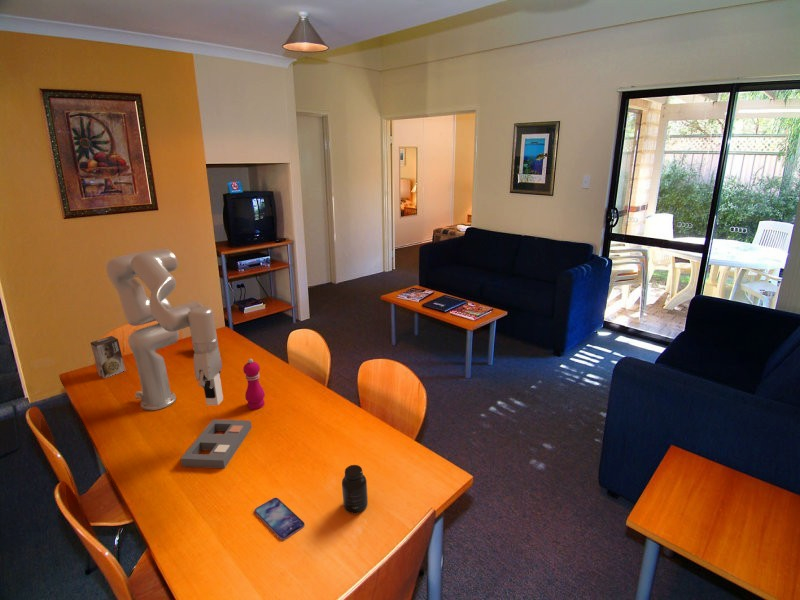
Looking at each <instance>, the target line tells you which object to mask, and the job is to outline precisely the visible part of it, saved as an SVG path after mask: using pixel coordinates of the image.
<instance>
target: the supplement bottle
mask: <svg viewBox="0 0 800 600" xmlns="http://www.w3.org/2000/svg"><path fill="white" fill-rule="evenodd" d="M341 488H342V489H341V490H342V503H343V508H344V510H345V511H346V512H348V513H350V514H359V513H360V514H361V513H362V512H364V511H365V510H366V509H367V507H368V504H369V503H368V501H369V499H368V483H367V478H366V476H365V475H364V473H363V468H362V467H361V465H357V464H351V465H348V466H347V467H346V468H345V469H344V476H343V478H342V479H341Z"/></svg>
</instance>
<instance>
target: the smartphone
mask: <svg viewBox="0 0 800 600" xmlns="http://www.w3.org/2000/svg"><path fill="white" fill-rule="evenodd" d="M254 514H255V515H256V516H257V517H258V518H259V519H260V521H262V522H263V523H264V524H265V525H266V526H267V528H269V530H270V531H271V532H273V534H275V536H276V537H277V538H278V539H279V540H281V541H285V540H288V539H290V538H291V536H293V535H295V534H296V533H298V532H299V531H301V530H302V529H304V528H305V524H306V523H305V522H304V521H303V520H302V518H300V517H299V516H298V515H297V514H296V513H295V512H293V510H292V509H290V508H289V507H288V506H287V505H286V504H285V503H284V502H283V501H282V500H281V499H279V497H273V498H271V499H269V500H268V501H265V502H264V503H262V504H260V505H259V506H257V507H256V508H255V509H254Z"/></svg>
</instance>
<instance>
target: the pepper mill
mask: <svg viewBox="0 0 800 600" xmlns="http://www.w3.org/2000/svg"><path fill="white" fill-rule="evenodd" d="M260 369H261V368H260V364H259V363H258V362H256V361H254V360H253V359H252V358H249V359H248V361H247V363H245V364H244V366H243V368H242V370H243V374H244V375H245V380H246V381H247V388H246V391H245V400H246V401H247V407H248V409H250V410H259V409H261V408H263V407H264V406H265V403H266V402H265V399H264V398H265V394H266V393H265V391H264V389H263V387H262V385H261V384H260V381H259V380H260V379H259V378H260Z"/></svg>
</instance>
